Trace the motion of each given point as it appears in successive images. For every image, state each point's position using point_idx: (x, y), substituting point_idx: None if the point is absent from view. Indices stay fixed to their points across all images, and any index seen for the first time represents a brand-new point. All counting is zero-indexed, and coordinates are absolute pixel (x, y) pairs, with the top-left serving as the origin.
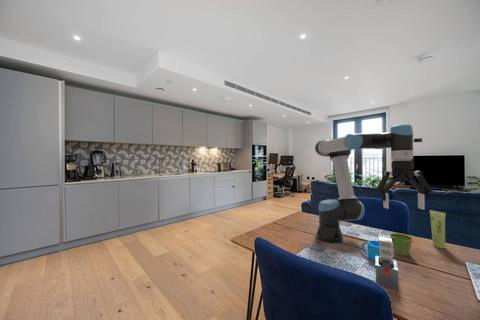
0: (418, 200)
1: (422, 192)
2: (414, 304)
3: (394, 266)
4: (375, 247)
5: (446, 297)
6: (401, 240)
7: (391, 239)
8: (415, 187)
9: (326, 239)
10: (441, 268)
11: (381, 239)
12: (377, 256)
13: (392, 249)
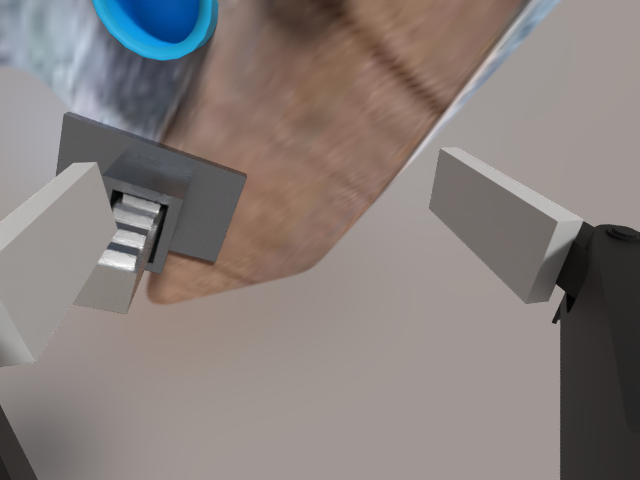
0: (484, 188)
1: (574, 290)
2: (195, 269)
3: (157, 251)
4: (128, 47)
5: (294, 224)
6: None
7: (133, 282)
8: (597, 312)
9: None
10: (415, 42)
11: (80, 293)
12: (110, 182)
13: (135, 291)
